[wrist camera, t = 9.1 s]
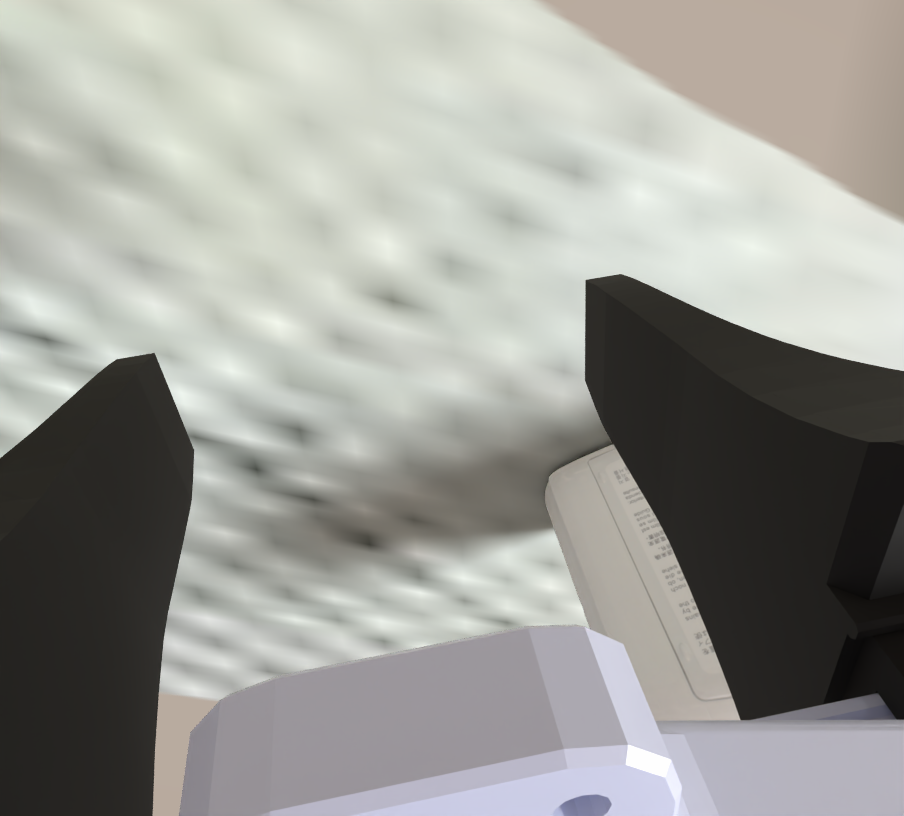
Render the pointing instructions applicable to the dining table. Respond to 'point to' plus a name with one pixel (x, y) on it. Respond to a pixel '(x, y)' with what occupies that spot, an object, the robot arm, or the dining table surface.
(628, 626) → the photo printer
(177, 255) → the dining table surface
